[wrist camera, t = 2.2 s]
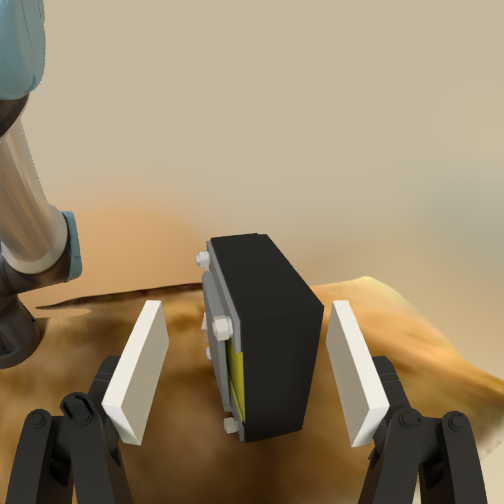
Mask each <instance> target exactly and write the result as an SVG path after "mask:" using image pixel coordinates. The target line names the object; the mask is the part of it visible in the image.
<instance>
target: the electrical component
mask: <svg viewBox="0 0 504 504" xmlns="http://www.w3.org/2000/svg"><path fill="white" fill-rule="evenodd" d="M196 262H197V265H200V268H205V267H209V270H210V272H205V273H204V274H203V275H202V282H203V293H204V303H205V313H206V323H207V332H208V341H209V347H207V351H206V354H207V358H208V359H209V361H212V364H213V368H214V372H215V376H216V380H217V384H218V388H219V392H220V396H221V400H222V404H223V407H224V411H226V412H232V414H233V417H231V418H225V419H224V422H223V424H224V429H225V431H226V432H227V434H228V433H234V432H237V431H238V435H239V438H240V441H245V442H246V443H248V442H253V441H258V440H262V439H267V438H271V437H275V436H279V435H283V434H287V433H291V432H295V431H298V430H301V429H302V425H303V420H304V416H305V411H306V406H307V402H308V397H309V392H310V387H311V382H312V377H313V371H314V366H315V360H316V355H317V349H318V343H319V337H320V331H321V325H322V319H323V312H324V305H323V304H322V303H321V302H320V300H319V299H318V298H317V297H316V295H315V294H314V293H313V292H312V290H311V289H310V288H309V286H308V285H307V284H306V283H305V281H304V280H303V279H302V278H301V276H300V275H299V274H298V273H297V271H296V270H295V269H294V268H293V267H292V265H291V264H290V263H289V261H288V260H287V259H286V258H285V256H284V255H283V254H282V253H281V252H280V250H279V249H278V248H277V246H276V245H275V244H274V243H273V241H272V240H271V239H270V238H269V237H268V235H267V234H263V235H262V234H257V233H253V234H243V235H233V236H224V237H215V238H211V241H207V251H201V252H198V255H196Z"/></svg>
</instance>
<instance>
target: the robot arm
mask: <svg viewBox="0 0 504 504" xmlns="http://www.w3.org/2000/svg"><path fill="white" fill-rule="evenodd" d="M44 65H45V31H44V5H43V0H0V369H3V368H8V367H11V366H14V365H16V364H18V363H20V362H22V361H23V360H25V359H26V358H27V357H28V356H30V355H31V354H32V352H33V351H34V350H35V349H36V347H37V346H38V344H39V341H40V338H41V331H40V328H39V326H38V324H37V321H36V320H35V318H34V317H33V316H32V315H31V314H30V312H29V311H28V310H27V309H26V308H25V306H24V305H23V304H22V302H21V301H20V300H19V298H18V295H17V294H19V293H23V292H26V291H30V290H34V289H38V288H42V287H46V286H50V285H54V284H58V283H62V282H64V283H65V282H68V281H70V280H72V279H75V278H78V277H79V276H80V275H81V273H82V262H81V256H80V246H79V240H78V233H77V228H76V222H75V217H74V215H73V213H72V212H71V211H66V212H65V211H61V212H60V211H59V210H58V209H57V208H56V207H55V206H53V205H51V204H50V203H48V202H47V200H46V197H45V195H44V192H43V189H42V186H41V184H40V181H39V178H38V176H37V172H36V169H35V166H34V163H33V160H32V157H31V154H30V151H29V147H28V144H27V140H26V137H25V133H24V130H23V126H22V123H21V119H20V117H21V115H22V114H23V112H24V110H25V108H26V105H27V103H28V100H29V96H30V92H31V91H33V90H34V89H35V88H36V87H37V86H38V85H39V83H40V81H41V79H42V76H43V72H44ZM168 345H169V338H168V333H167V328H166V323H165V318H164V313H163V308H162V302H161V301H151V300H147V301H146V303H145V305H144V307H143V310H142V312H141V314H140V316H139V318H138V320H137V322H136V325H135V327H134V329H133V331H132V333H131V335H130V338H129V340H128V342H127V344H126V347H125V349H124V351H123V353H122V356H121V357H119V356H109V357H108V358H107V359H105V360H104V361H103V362H102V364H101V366H100V368H99V370H98V373H97V374H96V377H95V380H94V381H93V383H92V385H91V387H90V390H89V392H88V394H87V395H86V394H84V393H82V392H74V393H71V394H68V395H67V396H66V397H64V398H63V400H62V401H61V404H60V409H61V410H62V412H63V413H64V415H65V416H51V414H50V413H49V412H48V411H46V410H44V409H36V410H33V411H31V412H30V413H29V414H28V415H27V417H26V419H25V422H24V425H23V429H22V432H21V436H20V439H19V443H18V447H17V451H16V455H15V459H14V463H13V467H12V472H11V476H10V481H9V486H8V491H7V497H6V502H5V504H72V495H73V485H74V484H75V491H76V497H77V503H78V504H134V503H133V500H132V496H131V493H130V489H129V485H128V482H127V478H126V474H125V470H124V466H123V461H122V457H121V452H120V449H119V446H118V444H117V443H118V439H119V436H120V438H121V439H122V441H123V443H128V444H134V445H140V446H141V442H142V438H143V434H144V431H145V427H146V423H147V419H148V415H149V412H150V408H151V404H152V401H153V397H154V394H155V390H156V386H157V383H158V379H159V376H160V372H161V369H162V366H163V362H164V359H165V355H166V352H167V349H168ZM326 346H327V350H328V354H329V357H330V361H331V365H332V369H333V373H334V377H335V380H336V384H337V388H338V392H339V396H340V400H341V404H342V409H343V413H344V417H345V421H346V425H347V430H348V434H349V438H350V443H351V447H356V446H363V445H369V444H370V442H371V440H372V439H374V443H375V447H374V449H373V451H372V452H371V454H370V456H369V457H368V459H369V460H370V459H371V460H370V464H369V467H368V471H367V475H366V478H365V482H364V485H363V489H362V492H361V495H360V498H359V501H358V504H412V502H413V497H414V492H415V487H416V481H417V475H418V472H419V482H420V494H421V504H487V497H486V491H485V485H484V480H483V475H482V470H481V465H480V461H479V456H478V452H477V448H476V444H475V440H474V436H473V432H472V429H471V425H470V422H469V420H468V418H467V417H466V416H465V415H464V414H463V413H461V412H459V411H450V412H448V413H446V414H445V415H444V416H443V418H429V417H423V416H422V415H421V414H420V413H419V412H418V411H417V410H416V409H413V408H411V406H410V404H409V402H408V399H407V397H406V394H405V392H404V390H403V387H402V385H401V383H400V381H399V378H398V376H397V374H396V371H395V369H394V367H393V364H392V363H391V362H390V361H389V360H388V359H387V358H386V357H385V356H376V357H371V356H370V353H369V351H368V348H367V346H366V343H365V341H364V338H363V336H362V333H361V331H360V329H359V326H358V324H357V321H356V319H355V317H354V314H353V312H352V310H351V307H350V305H349V303H348V301H347V300H345V301H333V302H332V309H331V315H330V321H329V326H328V332H327V338H326Z"/></svg>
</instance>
